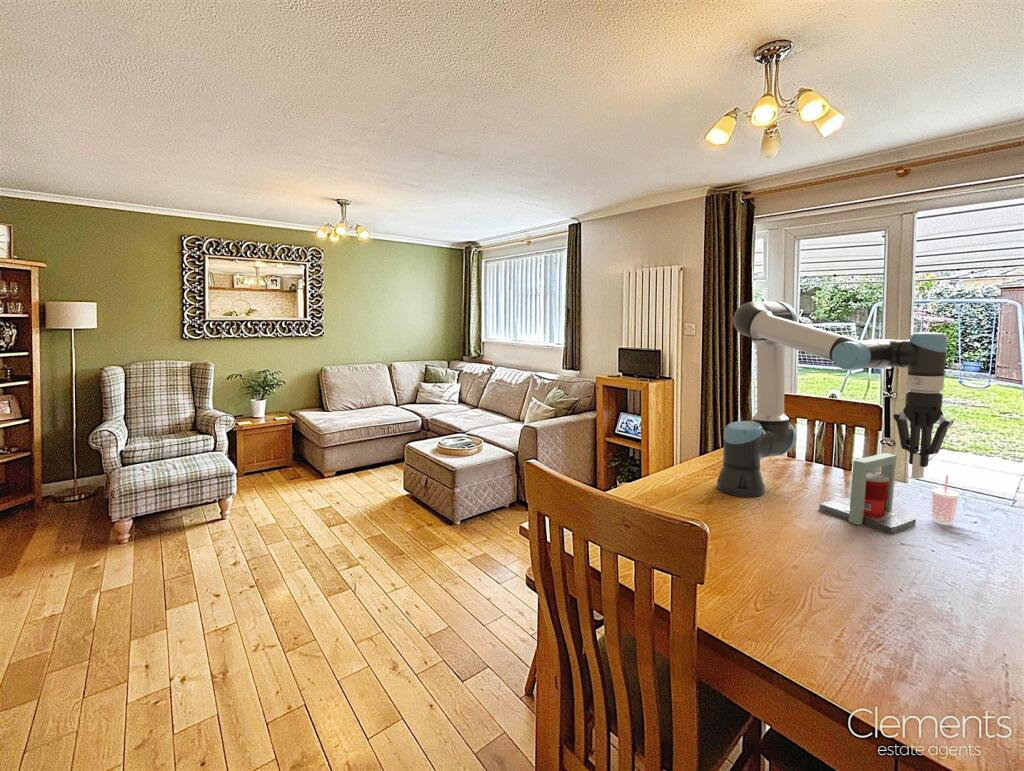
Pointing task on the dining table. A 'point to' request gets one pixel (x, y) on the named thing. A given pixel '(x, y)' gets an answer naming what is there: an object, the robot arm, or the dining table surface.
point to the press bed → (870, 517)
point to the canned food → (876, 494)
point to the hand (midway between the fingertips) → (917, 477)
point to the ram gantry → (860, 466)
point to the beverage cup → (944, 505)
